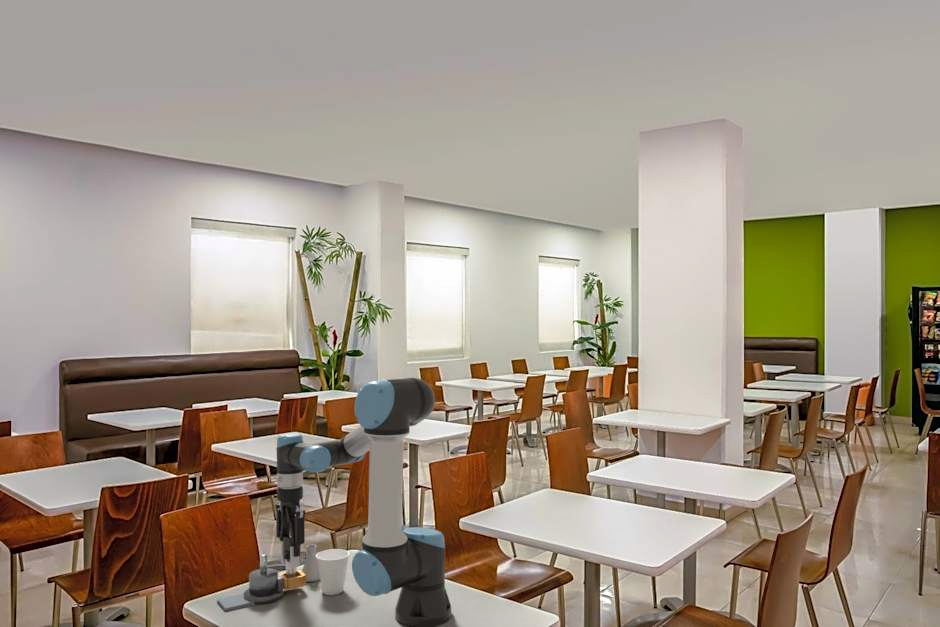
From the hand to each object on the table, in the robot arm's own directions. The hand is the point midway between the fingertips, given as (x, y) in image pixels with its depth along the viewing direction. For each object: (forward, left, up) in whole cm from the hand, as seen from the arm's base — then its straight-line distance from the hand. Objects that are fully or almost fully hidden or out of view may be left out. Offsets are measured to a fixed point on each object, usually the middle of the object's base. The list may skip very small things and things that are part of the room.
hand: (290, 564), depth 210 cm
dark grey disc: (-1, +8, -7) cm, 11 cm away
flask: (+5, -9, -8) cm, 13 cm away
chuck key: (-1, 0, -6) cm, 6 cm away
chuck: (-1, +5, -6) cm, 7 cm away
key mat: (-1, +16, -7) cm, 18 cm away
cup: (-9, -10, -8) cm, 15 cm away
